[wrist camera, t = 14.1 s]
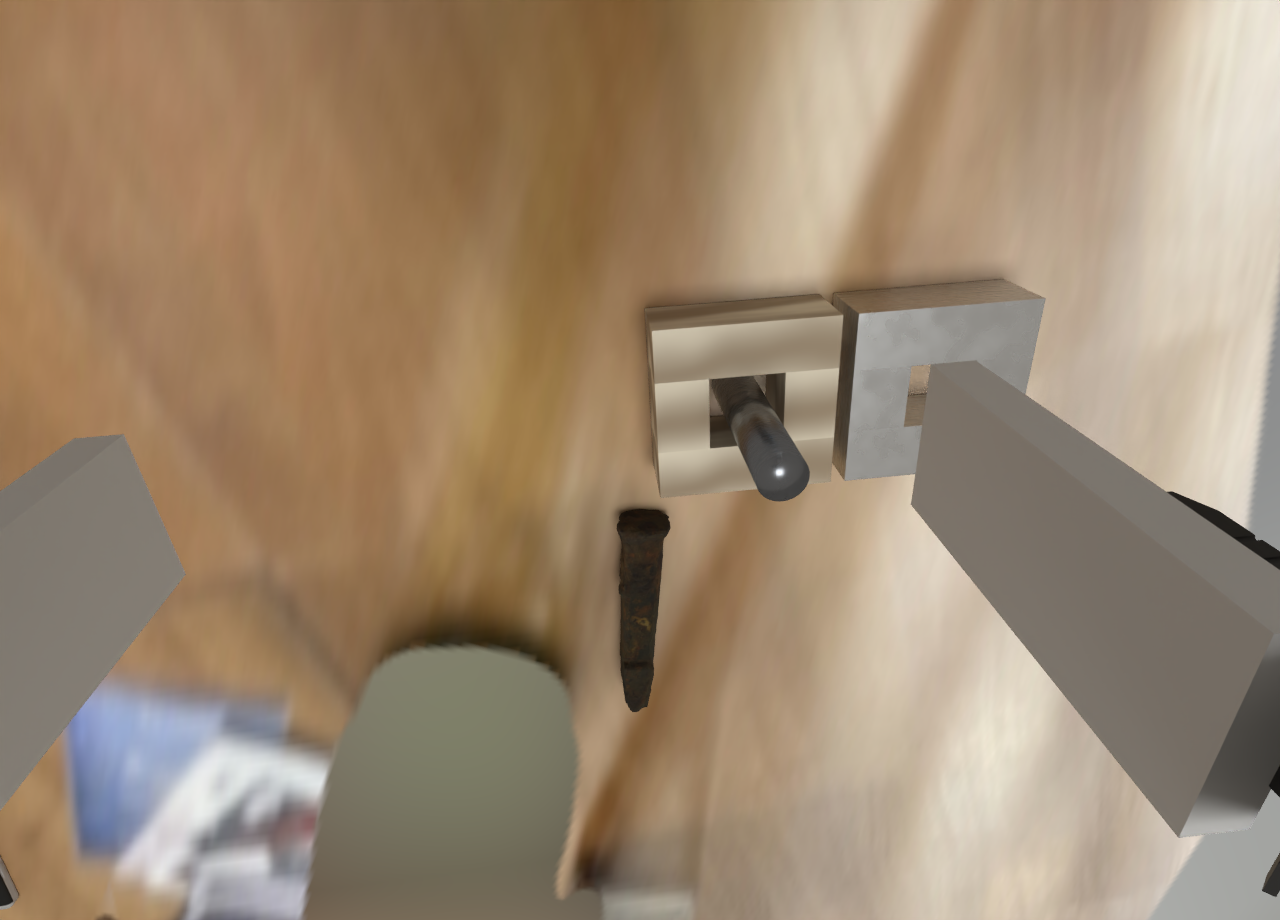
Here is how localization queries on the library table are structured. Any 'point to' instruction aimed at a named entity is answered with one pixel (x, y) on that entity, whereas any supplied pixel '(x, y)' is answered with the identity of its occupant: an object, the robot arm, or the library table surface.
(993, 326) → the socket block
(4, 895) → the black and silver tablet
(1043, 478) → the robot arm
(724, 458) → the beige block with hole
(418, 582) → the library table surface
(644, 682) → the hand tool
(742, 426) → the dark grey rounded rod
